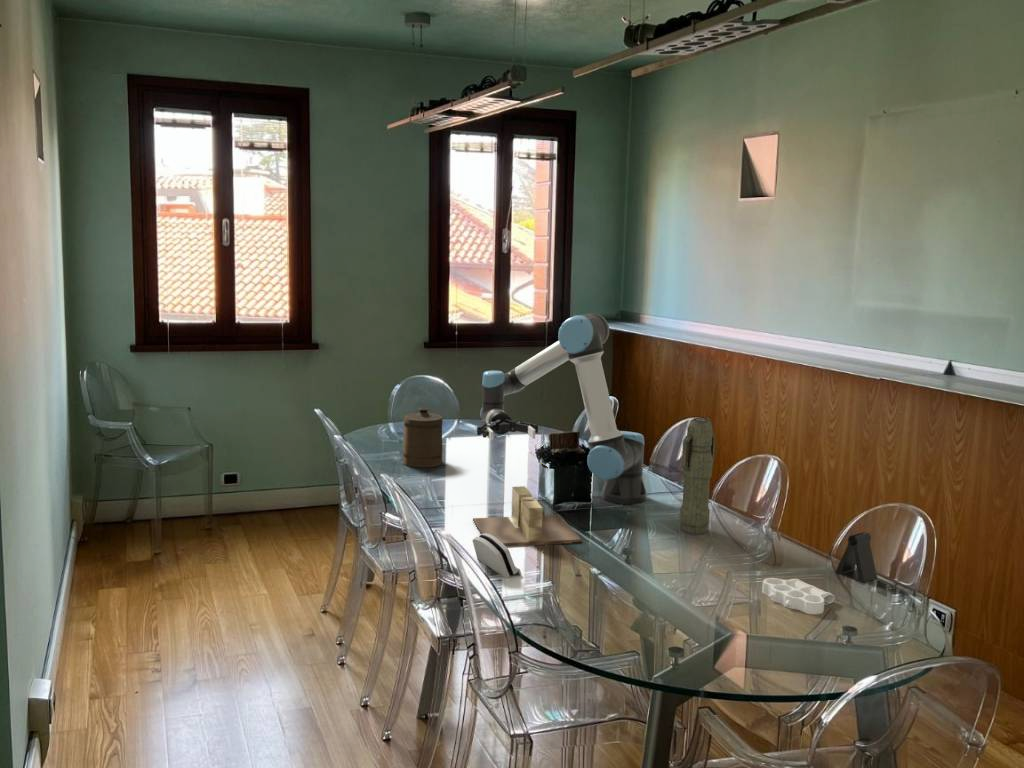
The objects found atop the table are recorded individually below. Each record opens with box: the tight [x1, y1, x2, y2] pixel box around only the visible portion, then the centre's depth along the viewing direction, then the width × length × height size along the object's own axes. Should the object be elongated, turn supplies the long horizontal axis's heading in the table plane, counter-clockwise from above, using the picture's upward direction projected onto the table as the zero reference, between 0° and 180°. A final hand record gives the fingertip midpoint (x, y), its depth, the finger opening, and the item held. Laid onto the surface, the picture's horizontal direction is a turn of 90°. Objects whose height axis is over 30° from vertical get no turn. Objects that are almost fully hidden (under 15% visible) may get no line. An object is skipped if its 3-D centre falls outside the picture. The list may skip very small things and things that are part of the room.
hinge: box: [471, 533, 523, 579], centre depth 262 cm, size 17×5×10 cm, turn 29°
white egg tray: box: [761, 577, 836, 615], centre depth 246 cm, size 3×18×15 cm
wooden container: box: [402, 405, 443, 469], centre depth 369 cm, size 15×15×22 cm
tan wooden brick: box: [510, 485, 533, 527], centre depth 298 cm, size 4×9×10 cm, turn 13°
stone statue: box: [679, 417, 716, 536], centre depth 296 cm, size 9×12×35 cm
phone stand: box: [835, 531, 878, 584], centre depth 263 cm, size 9×6×12 cm, turn 36°
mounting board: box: [472, 496, 582, 547], centre depth 292 cm, size 28×24×11 cm
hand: (513, 435), depth 307 cm, fingers open, 13 cm apart
